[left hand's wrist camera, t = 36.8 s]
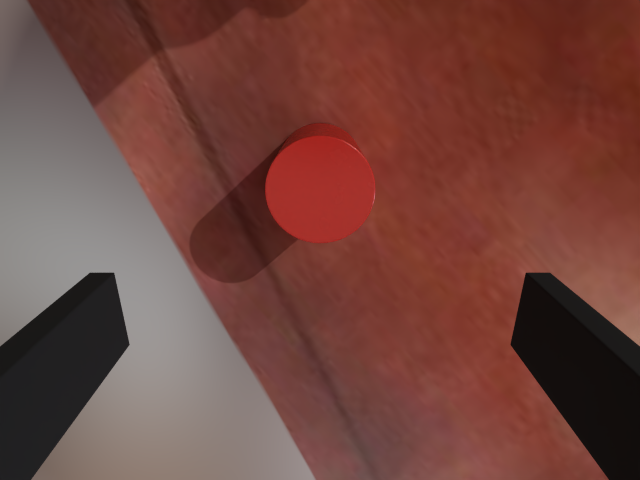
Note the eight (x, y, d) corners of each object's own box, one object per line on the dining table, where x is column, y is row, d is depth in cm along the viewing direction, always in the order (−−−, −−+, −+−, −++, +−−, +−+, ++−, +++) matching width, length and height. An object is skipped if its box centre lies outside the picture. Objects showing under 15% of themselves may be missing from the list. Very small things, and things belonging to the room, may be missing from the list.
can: (374, 137, 34) (391, 154, 26) (347, 217, 36) (355, 254, 28) (289, 112, 33) (279, 121, 25) (269, 195, 35) (254, 227, 27)
